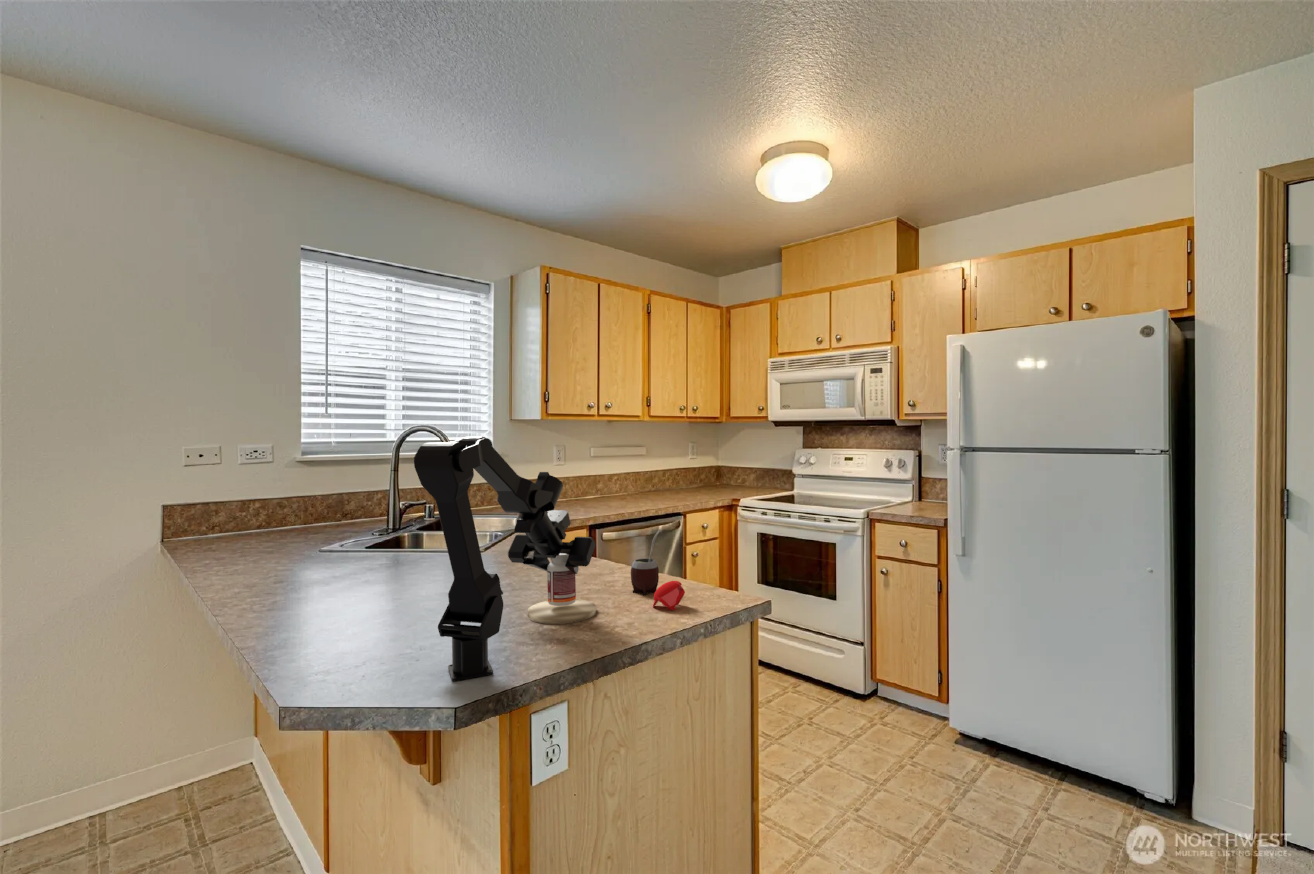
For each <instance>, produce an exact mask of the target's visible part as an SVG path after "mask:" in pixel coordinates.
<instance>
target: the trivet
mask: <svg viewBox="0 0 1314 874" xmlns="http://www.w3.org/2000/svg"><path fill="white" fill-rule="evenodd" d="M596 614H597V604H596V603H594V602H592V601H591V600H587V599H582V598H581V599H578V598H576V601H575V602H574V603H573V604H570V605H565V606H554V605H550V604H549V603H548V600H545V601H540V602H537V603H534V604H533V605H531V606H529V607H528V609H527V618H528V619H529V620H530V621H531V622H534V623H535V622H536V623H538V624H539V623H540V624H546V625H560V624H561V625H563V624H572V623H578V622H582V621H586V620H589V619H590V618H592V617H594V616H595V615H596Z"/></svg>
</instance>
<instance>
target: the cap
mask: <svg viewBox="0 0 1314 874" xmlns="http://www.w3.org/2000/svg"><path fill="white" fill-rule="evenodd" d="M682 585H683V584H682V582H681V581H679V580H670V581H667V582H664V583H663V584H662V585H660V586H659V587H657V590H656V592H655V593H653V601H654V602H653V604H652V607H653V608H654V607H655V606H656V605H657V603H658V602H659V603H661V604H662V605H663V606H664V607H667V609H669V611H675V610H676V606H679V604H680V602H681V600H682V599H683V597H684V596H685V593H686V591H685V589H684V587H683V586H682Z"/></svg>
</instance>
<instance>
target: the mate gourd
mask: <svg viewBox="0 0 1314 874" xmlns="http://www.w3.org/2000/svg"><path fill="white" fill-rule="evenodd" d="M660 532H661V529H659V530H658V531H657V532H656V533H655V534H654V536H653V539H651V540H652V541H651V547H650V553H649V557H648V558H638V559H635V560H634V561H633V562H632V564H631V568H630V581H631V585H632V589H633V590H632V593H633V594H639V593H640V594H642V596H647V594H648V593H649V594H651V593H653V594H654V593H655V592H656V590H657V589H658V585H659V582H660V581H659V577H660V575H659V566H658V565H659V564H658V563H657V561H656V560H655V559H652V556H653V552H654V551H653V550H654V546H655V543H656V539H657V537H658V535H659V533H660Z"/></svg>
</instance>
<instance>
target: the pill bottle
mask: <svg viewBox="0 0 1314 874" xmlns="http://www.w3.org/2000/svg"><path fill="white" fill-rule="evenodd" d="M549 559H550V561H551V562H550V564H549V565H548V567H547V571H546V574H547V575H546V576H547V577H546V578H547V601H548V603H549V604H550V605H554V606H565V605H570V604H573V603H574V602H575V601H576V599H577V595H576V594H577V590H576V589H577V588H576V583H577V582H576V574H575V573H573V572H572V571H570V570H569V569H568V568H567V567H565V564H566V562H567V559H568V556H567V555H566V554H565V553H560V554H559V556H556V558H549Z"/></svg>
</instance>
